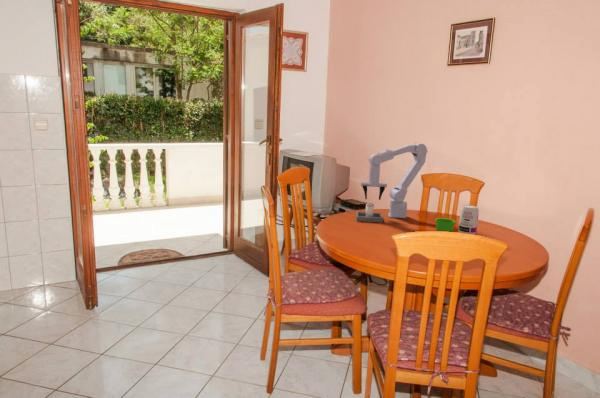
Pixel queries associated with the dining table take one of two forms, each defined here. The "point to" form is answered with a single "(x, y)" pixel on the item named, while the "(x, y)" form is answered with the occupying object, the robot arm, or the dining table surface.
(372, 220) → the tray
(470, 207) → the supplement can
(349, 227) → the dining table surface
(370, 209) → the shaker
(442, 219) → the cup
